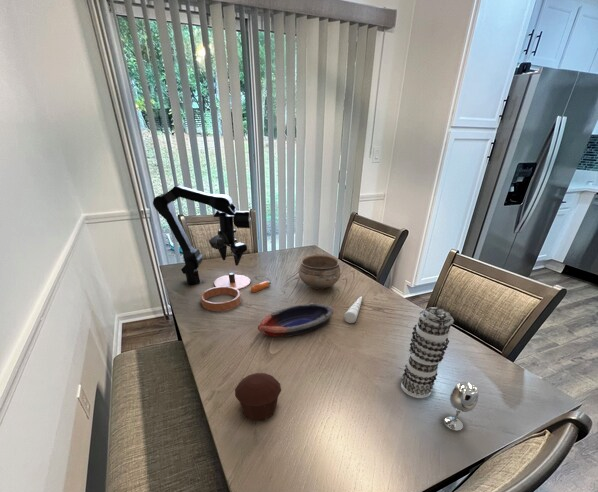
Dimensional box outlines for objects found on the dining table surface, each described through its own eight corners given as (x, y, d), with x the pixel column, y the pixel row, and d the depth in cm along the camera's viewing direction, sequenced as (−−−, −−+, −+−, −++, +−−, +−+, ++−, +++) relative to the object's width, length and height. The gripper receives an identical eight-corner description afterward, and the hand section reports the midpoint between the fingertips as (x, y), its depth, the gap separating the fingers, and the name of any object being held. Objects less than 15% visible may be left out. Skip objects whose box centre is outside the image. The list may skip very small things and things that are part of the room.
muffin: (243, 430, 79) (239, 401, 74) (232, 400, 88) (228, 372, 82) (288, 416, 83) (287, 387, 78) (273, 388, 92) (272, 361, 86)
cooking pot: (351, 292, 144) (354, 266, 137) (315, 301, 136) (316, 274, 130) (322, 273, 162) (323, 249, 156) (288, 280, 155) (288, 255, 148)
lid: (206, 284, 150) (205, 273, 147) (235, 273, 160) (234, 264, 158) (229, 295, 141) (227, 284, 138) (258, 283, 151) (257, 273, 148)
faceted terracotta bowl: (194, 303, 134) (193, 294, 132) (225, 291, 144) (224, 283, 142) (217, 316, 125) (216, 307, 123) (248, 302, 135) (247, 294, 133)
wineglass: (437, 415, 84) (449, 380, 77) (458, 414, 84) (472, 379, 78) (447, 433, 79) (462, 397, 72) (470, 431, 79) (486, 396, 73)
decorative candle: (396, 376, 97) (413, 302, 83) (427, 377, 96) (449, 303, 83) (403, 398, 89) (423, 321, 75) (437, 399, 89) (463, 322, 75)
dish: (342, 325, 120) (343, 314, 118) (266, 347, 108) (265, 335, 106) (320, 308, 132) (321, 297, 129) (249, 325, 120) (248, 314, 117)
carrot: (253, 294, 142) (254, 288, 140) (249, 291, 143) (249, 285, 141) (272, 286, 149) (272, 281, 147) (267, 284, 150) (267, 278, 148)
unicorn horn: (370, 298, 139) (371, 288, 136) (355, 325, 121) (356, 314, 118) (359, 296, 141) (360, 286, 138) (343, 322, 123) (344, 311, 120)
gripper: (197, 226, 136) (203, 262, 145) (224, 236, 126) (228, 273, 135) (219, 222, 143) (223, 256, 152) (246, 230, 133) (249, 266, 142)
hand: (230, 262), depth 145 cm, fingers open, 9 cm apart
